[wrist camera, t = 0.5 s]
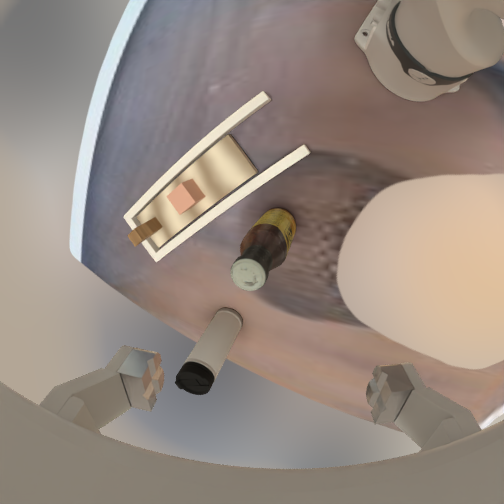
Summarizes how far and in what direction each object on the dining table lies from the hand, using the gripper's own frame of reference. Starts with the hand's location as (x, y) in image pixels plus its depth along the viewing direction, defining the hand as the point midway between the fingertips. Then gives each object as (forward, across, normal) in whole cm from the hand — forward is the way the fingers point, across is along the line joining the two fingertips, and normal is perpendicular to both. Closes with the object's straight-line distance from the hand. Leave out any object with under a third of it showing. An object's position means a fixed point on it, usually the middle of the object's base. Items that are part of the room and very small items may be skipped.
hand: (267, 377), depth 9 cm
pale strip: (+42, +15, -2) cm, 45 cm away
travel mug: (+45, +8, +25) cm, 52 cm away
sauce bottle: (+40, -2, +2) cm, 40 cm away
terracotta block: (+40, +14, -2) cm, 43 cm away
